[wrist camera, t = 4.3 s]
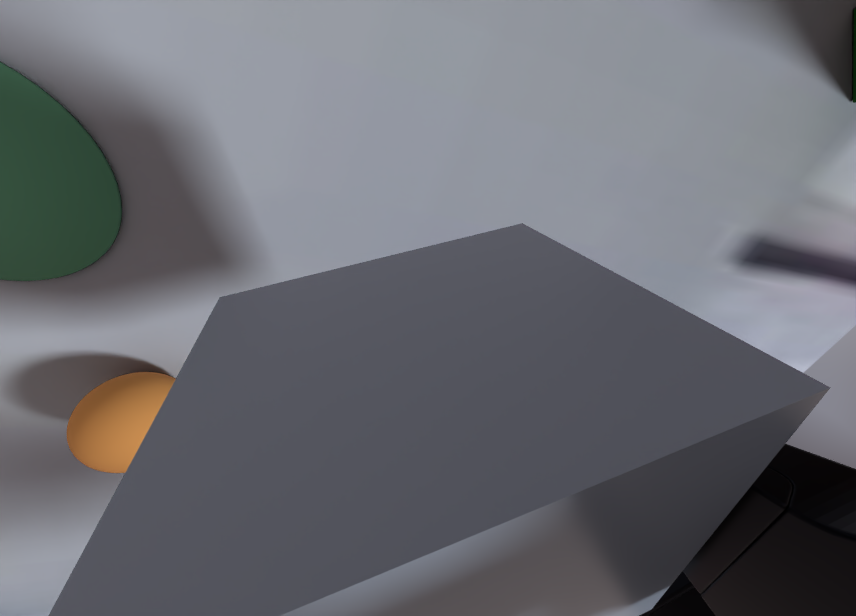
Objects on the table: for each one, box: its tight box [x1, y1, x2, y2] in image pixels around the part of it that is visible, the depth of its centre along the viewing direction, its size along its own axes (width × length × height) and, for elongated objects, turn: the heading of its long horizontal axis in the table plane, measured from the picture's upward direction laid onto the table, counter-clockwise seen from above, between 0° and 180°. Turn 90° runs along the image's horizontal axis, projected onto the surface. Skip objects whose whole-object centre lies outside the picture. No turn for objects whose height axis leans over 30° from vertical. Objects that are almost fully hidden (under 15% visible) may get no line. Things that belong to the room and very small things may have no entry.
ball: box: [67, 372, 176, 473], centre depth 17 cm, size 5×5×5 cm
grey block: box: [49, 223, 830, 616], centre depth 7 cm, size 8×8×6 cm
